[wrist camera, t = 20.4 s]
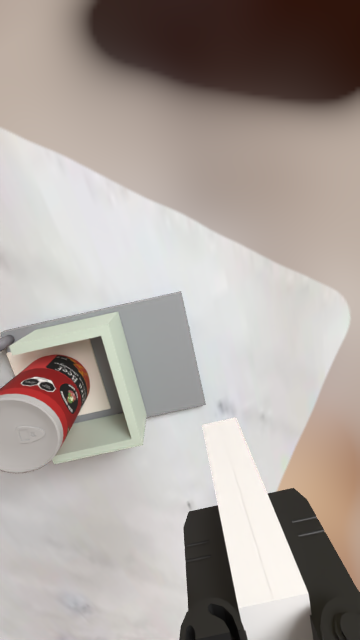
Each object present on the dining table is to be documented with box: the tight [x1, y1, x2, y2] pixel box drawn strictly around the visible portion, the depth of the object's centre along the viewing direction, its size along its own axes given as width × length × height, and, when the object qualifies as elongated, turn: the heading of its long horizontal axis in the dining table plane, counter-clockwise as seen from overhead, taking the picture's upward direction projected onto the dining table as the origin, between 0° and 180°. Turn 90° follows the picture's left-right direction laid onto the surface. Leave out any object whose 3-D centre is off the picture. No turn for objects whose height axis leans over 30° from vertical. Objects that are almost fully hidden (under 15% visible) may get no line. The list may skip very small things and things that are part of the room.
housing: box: [9, 312, 147, 464], centre depth 33 cm, size 10×14×6 cm
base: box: [0, 291, 206, 423], centre depth 36 cm, size 22×15×4 cm
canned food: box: [0, 355, 90, 473], centre depth 31 cm, size 8×8×11 cm
